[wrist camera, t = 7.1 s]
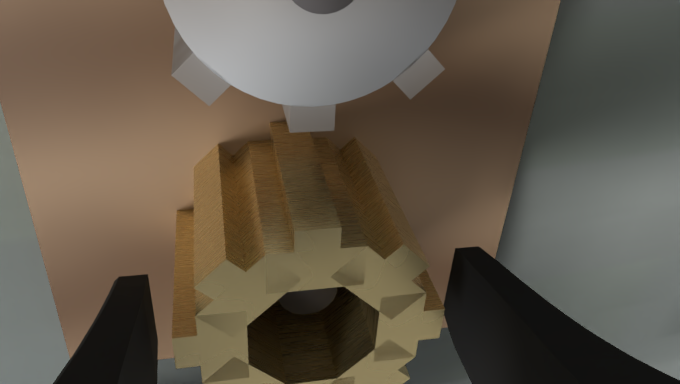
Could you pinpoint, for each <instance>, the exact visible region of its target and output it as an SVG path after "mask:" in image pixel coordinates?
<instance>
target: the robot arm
mask: <svg viewBox="0 0 680 384" xmlns="http://www.w3.org/2000/svg"><path fill="white" fill-rule="evenodd" d="M443 306H444V308H445V312H444V316H445V319H446V322H447V326H448V329H449V332H450V335H451V338H452V341H453V343H454V346H455V349H456V351H457V353H458V355H459V357H460V359H461V361H462V364H463V366H464V368H465V370H466V372H467V374H468V376H469V378H470V380H471V382H472V384H680V380H677V379H675V378H673V377H671V376H669V375H667V374H665V373H663V372H661V371H659V370H657V369H655V368H653V367H651V366H649V365H647V364H645V363H643V362H641V361H639V360H637V359H636V358H634V357H632V356H630V355H628V354H627V353H625V352H623V351H621V350H620V349H618V348H616V347H615V346H613V345H611V344H610V343H608V342H606V341H605V340H603V339H601V338H600V337H598V336H596V335H595V334H593V333H592V332H590V331H589V330H587V329H586V328H584V327H583V326H581V325H580V324H578V323H577V322H575V321H574V320H573V319H571V318H570V317H568V316H567V315H565V314H564V313H563V312H561V311H560V310H558V309H557V308H556V307H554V306H553V305H552V304H550V303H549V302H548V301H546V300H545V299H544V298H542V297H541V296H540V295H539V294H537V293H536V292H535V291H534V290H532V289H531V288H530V287H528V286H527V285H526V284H525V283H523V282H522V281H521V280H520V279H519V278H517V277H516V276H515V275H514V274H512V273H511V272H510V271H509V270H508V269H506V268H505V267H504V266H503V265H501V264H500V263H499V262H498V261H497V260H495V259H494V258H493V257H492V256H490V255H489V254H488V253H487V252H485V251H484V250H483V249H482V248H480V247H479V246H476V247H464V248H455V252H454V257H453V261H452V266H451V271H450V276H449V281H448V286H447V291H446V295H445V300H444V305H443ZM157 365H158V337H157V330H156V324H155V317H154V311H153V304H152V298H151V291H150V285H149V278H148V274H144V275H132V276H120V277H118V278H117V279H116V280H115V281H114V283H113V285H112V287H111V290H110V292H109V294H108V296H107V298H106V300H105V302H104V304H103V305H102V307H101V309H100V311H99V313H98V315H97V316H96V318H95V320H94V322H93V324H92V325H91V327H90V328H89V330H88V332H87V333H86V335H85V337H84V338H83V340H82V341H81V343H80V345H79V346H78V348H77V350H76V351H75V353H74V354H73V356H72V357H71V359H70V360H69V361H68V363H67V364H66V366H65V367H64V369H63V370H62V371H61V373H60V374H59V376H58V377H57V379H56V380H55V382H54V383H53V384H157Z"/></svg>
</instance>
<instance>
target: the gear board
mask: <svg viewBox="0 0 680 384" xmlns="http://www.w3.org/2000/svg"><path fill="white" fill-rule="evenodd" d="M560 1H561V0H0V102H1V106H2V109H3V113H4V117H5V121H6V124H7V128H8V132H9V135H10V139H11V143H12V146H13V150H14V154H15V157H16V161H17V165H18V168H19V172H20V176H21V179H22V183H23V187H24V190H25V194H26V198H27V201H28V205H29V209H30V213H31V216H32V220H33V224H34V227H35V231H36V235H37V238H38V242H39V246H40V249H41V253H42V257H43V260H44V264H45V268H46V271H47V275H48V279H49V282H50V286H51V290H52V293H53V297H54V301H55V305H56V308H57V312H58V316H59V319H60V323H61V327H62V330H63V334H64V338H65V341H66V345H67V349H68V352H69V356H70V359H71V357H72V356H73V354H74V353H75V351H76V350H77V348H78V346H79V345H80V343H81V341H82V340H83V338H84V337H85V335H86V333H87V332H88V330H89V328H90V327H91V325H92V324H93V322H94V320H95V318H96V316H97V315H98V313H99V311H100V309H101V307H102V305H103V304H104V302H105V300H106V298H107V296H108V294H109V292H110V290H111V287H112V285H113V283H114V281H115V280H116V279H117V278H118V277H120V276H132V275H144V274H148V278H149V285H150V291H151V298H152V304H153V311H154V317H155V324H156V330H157V337H158V360H159V359H168V358H174V351H173V344H172V319H173V293H174V267H175V241H176V215H177V210H189V209H194V166H195V165H196V164H197V163H198V162H199V161H200V160H202V159H203V158H204V157H205V156H206V155H207V154H208V153H209V152H210V151H211V150H212V149H213V148H214V147H215V146H216V145H217V144H219V145H221V146H222V147H223V148H224V149H226V150H227V151H228V152H230V153H231V154H232V155H234V154H235V153H236V152H237V151H238V150H239V149H240V148H241V147H242V146H243V145H244V144H245V143H247V142H248V141H258V140H270V122H283V121H287V124H288V128H289V132H290V133H296V132H310V134H311V137H312V138H321V137H327V138H328V139H329V140H330V141H331V142H332V143H333V144H335V145H336V146H337V147H338V148H339V149H342V148H343V147H344V146H345V145H346V144H347V143H348V142H349V141H351V140H352V139H353V138H354V137H355V138H356V139H357V140H358V141H359V142H361V143H362V144H363V145H364V146H365V147H366V148H367V149H368V150H369V151H370V152H371V153H372V154H374V155H375V156H376V158H377V160H378V162H379V164H380V166H381V168H382V170H383V172H384V174H385V176H386V178H387V180H388V182H389V184H390V186H391V188H392V190H393V192H394V194H395V196H396V198H397V200H398V202H399V204H400V206H401V208H402V210H403V212H404V214H405V216H406V219H407V221H408V223H409V225H410V227H411V229H412V231H413V233H414V235H415V237H416V239H417V241H418V243H419V245H420V247H421V249H422V251H423V253H424V255H425V257H426V259H427V261H428V263H429V265H430V267H428V268H427V269H426V270H427V272H428V274H429V277H430V279H431V281H432V283H433V285H434V287H435V289H436V291H437V293H438V295H439V297H440V299H441V301H442V304H443V305H444V300H445V295H446V291H447V286H448V281H449V276H450V271H451V266H452V261H453V257H454V252H455V248H464V247H476V246H479V247H480V248H482V249H483V250H484V251H485V252H487V253H488V254H489V255H490V256H492V257H493V258H494V259H495V257H496V253H497V249H498V245H499V241H500V237H501V233H502V229H503V225H504V221H505V217H506V214H507V210H508V206H509V202H510V198H511V194H512V190H513V186H514V182H515V178H516V174H517V170H518V166H519V162H520V158H521V155H522V151H523V147H524V143H525V139H526V135H527V131H528V127H529V123H530V119H531V115H532V111H533V107H534V103H535V100H536V96H537V92H538V88H539V84H540V80H541V76H542V72H543V68H544V64H545V60H546V56H547V52H548V48H549V45H550V41H551V37H552V33H553V29H554V25H555V21H556V17H557V13H558V9H559V5H560ZM336 293H337V287H334V288H324V289H314V290H303V291H293V292H287V293H286V294H284V295H283V296H282V297H281V298H280V299H279V302H280V304H281V305H282V307H283V308H284V309H286V310H287V311H289V312H292V313H295V314H303V315H304V314H312V313H315V312H318V311H320V310H322V309H324V308H326V307H327V306H328V305H329V304H330V303H331V302H332V301H333V300H334V298H335V296H336ZM447 327H448V326H447V322H446V319H445V316H444V317H443V322H442V327H441V328H447Z"/></svg>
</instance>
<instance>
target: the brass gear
mask: <svg viewBox="0 0 680 384" xmlns="http://www.w3.org/2000/svg"><path fill="white" fill-rule="evenodd" d="M428 267H430V265H429V263H428V261H427V259H426V257H425V255H424V253H423V251H422V249H421V247H420V245H419V243H418V241H417V239H416V237H415V235H414V233H413V231H412V229H411V227H410V225H409V223H408V221H407V219H406V216H405V214H404V212H403V210H402V208H401V206H400V204H399V202H398V200H397V198H396V196H395V194H394V192H393V190H392V188H391V186H390V184H389V182H388V180H387V178H386V176H385V174H384V172H383V170H382V168H381V166H380V164H379V162H378V160H377V158H376V156H375V155H374V154H372V153H371V152H370V151H369V150H368V149H367V148H366V147H365V146H364V145H363V144H362V143H361V142H359V141H358V140H357V139H356V138H355V137H354V138H353V139H352V140H351V141H349V142H348V143H347V144H346V145H345V146H344V147H343V148H342V149H339V148H338V147H337V146H336V145H335V144H333V143H332V142H331V141H330V140H329V139H328V138H327V137H321V138H312V137H311V134H310V132H296V133H290V132H289V128H288V124H287V121H283V122H270V140H258V141H248V142H247V143H245V144H244V145H243V146H242V147H241V148H240V149H239V150H238V151H237V152H236V153H235V154H234V155H232V154H231V153H230V152H228V151H227V150H226V149H224V148H223V147H222V146H221V145H219V144H217V145H216V146H215V147H214V148H213V149H212V150H211V151H210V152H209V153H208V154H207V155H206V156H205V157H204V158H203V159H202V160H200V161H199V162H198V163H197V164H196V165H195V166H194V209H189V210H177V215H176V241H175V267H174V293H173V319H172V344H173V351H174V358H175V365H176V369H179V368H187V367H196V366H201V375H202V383H203V384H403V383H405V382H406V381H407V380H409V379H410V376H409V373H408V371H407V368H406V365H405V364H406V363H408V362H409V361H410V360H412V359H413V358H414V357H415V356H416V350H417V345H418V340H425V339H434V338H439V337H440V332H441V327H442V322H443V317H444V312H445V308H444V306H443V304H442V301H441V299H440V297H439V295H438V293H437V291H436V289H435V287H434V285H433V283H432V281H431V279H430V277H429V274H428V272H427V270H426V269H427V268H428ZM334 287H337V293H336V296H335V298H334V300H333V301H332V302H331V303H330V304H329V305H328V306H327V307H326V308H324V309H322V310H320V311H318V312H315V313H312V314H304V315H303V314H295V313H292V312H289V311H287V310H286V309H284V308H283V307H282V305H281V304H280V302H279V299H280V298H281V297H282V296H283V295H284V294H286V293H287V292H293V291H303V290H314V289H324V288H334Z"/></svg>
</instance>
